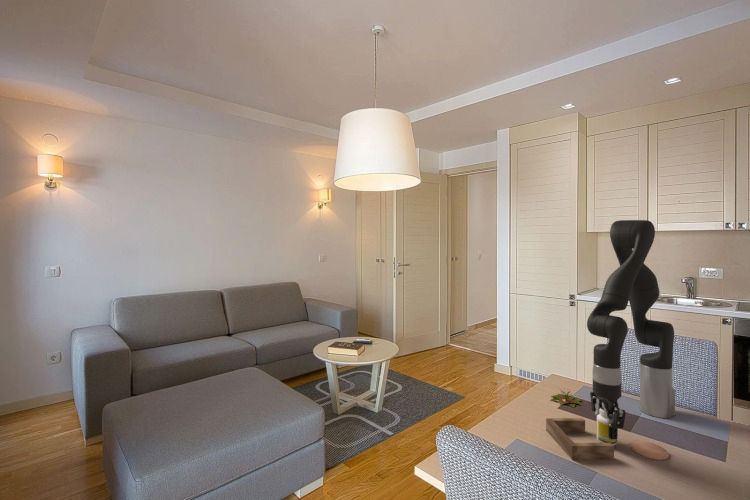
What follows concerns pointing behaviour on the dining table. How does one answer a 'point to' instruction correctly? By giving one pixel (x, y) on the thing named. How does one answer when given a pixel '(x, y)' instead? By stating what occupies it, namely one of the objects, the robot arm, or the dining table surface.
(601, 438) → the supplement bottle
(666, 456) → the terracotta coaster
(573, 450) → the walnut cubby
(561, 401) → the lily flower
